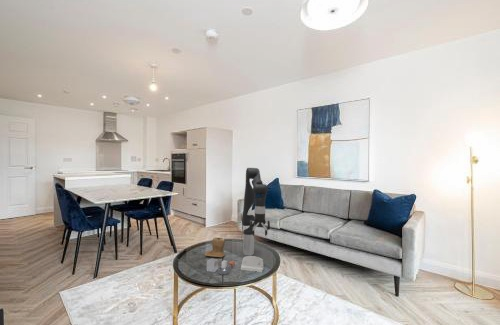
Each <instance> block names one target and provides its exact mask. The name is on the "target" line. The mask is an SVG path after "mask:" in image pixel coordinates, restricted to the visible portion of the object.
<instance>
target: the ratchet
mask: <svg viewBox="0 0 500 325" xmlns="http://www.w3.org/2000/svg"><path fill="white" fill-rule="evenodd" d="M235 266H236V262H235V261H234V260H230V261H229V262H228V260H225V259H223V260H222V261H221V266H220V267H218V273H219V275H221V276H227V275H229V274H230V270H232V268H234V267H235Z"/></svg>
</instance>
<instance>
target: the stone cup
mask: <svg viewBox="0 0 500 325" xmlns="http://www.w3.org/2000/svg"><path fill="white" fill-rule="evenodd" d="M225 242H226V240H225V238H223V237H213V238H212V241H211V244H212V245H211V246H212V250H211V251H206V252H205V253H204V256H205V257H206V256H207V257H214V258H223V257H225V255H226V253H224V252H223V249H224V247H225Z"/></svg>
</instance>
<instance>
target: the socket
mask: <svg viewBox="0 0 500 325" xmlns="http://www.w3.org/2000/svg"><path fill="white" fill-rule="evenodd" d="M217 270H218V271H219V259H218V258H209V259H208V260H207V261H206V272H210V273H215V272H217Z"/></svg>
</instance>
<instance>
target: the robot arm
mask: <svg viewBox="0 0 500 325" xmlns="http://www.w3.org/2000/svg"><path fill="white" fill-rule="evenodd" d="M250 180H252V185H253V186H252V185H251V181H250ZM268 189H269V188H268V185H267V184H265V183H263V180H262V178H261V173H260V169H259V168H257V167H246V170H245V188H244V196H243V209H242V214H241V215H242V216H241V224H242V226H244V227H247V228H245V229H244V230H243V233H242V234H243V239H242V240H243V241H242V245H243V246H242V254H243V255H244V256H254V254H255V230H256V228H264V235H265V237H266V236H267V235H268V231H269V230H270V229H271V222H270V220H266V198H267V193H268ZM256 195H261V196H258V197H256ZM253 205H254V214H249V212H250V209H251V208H252V206H253ZM266 224H267V227H266Z"/></svg>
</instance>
